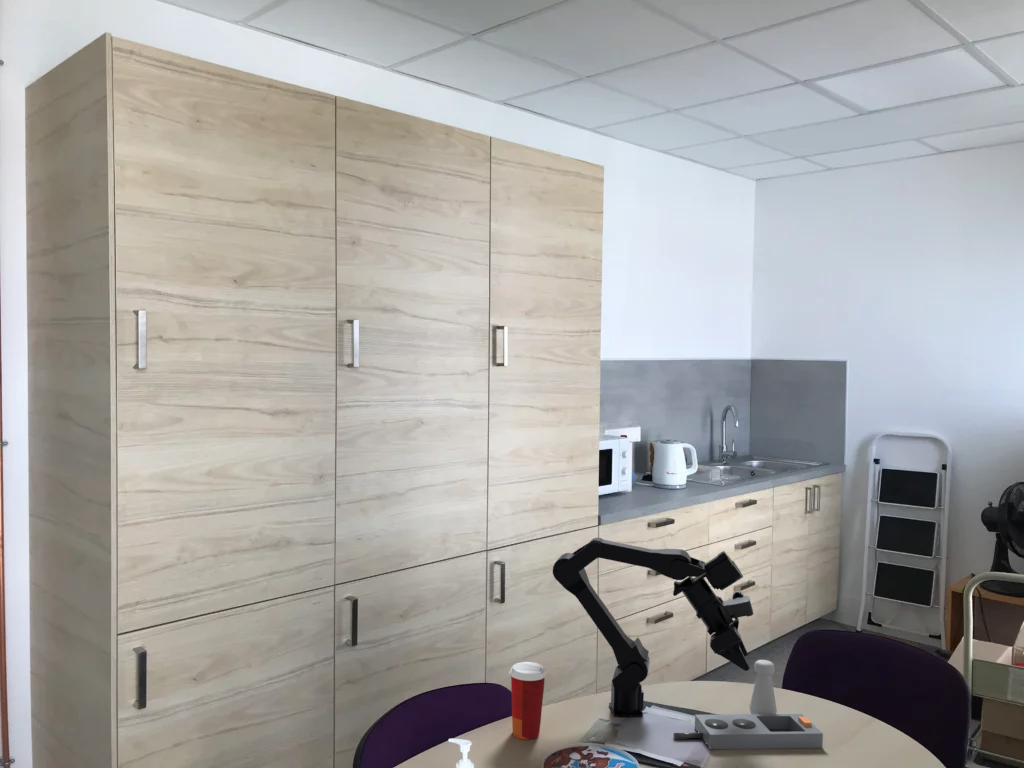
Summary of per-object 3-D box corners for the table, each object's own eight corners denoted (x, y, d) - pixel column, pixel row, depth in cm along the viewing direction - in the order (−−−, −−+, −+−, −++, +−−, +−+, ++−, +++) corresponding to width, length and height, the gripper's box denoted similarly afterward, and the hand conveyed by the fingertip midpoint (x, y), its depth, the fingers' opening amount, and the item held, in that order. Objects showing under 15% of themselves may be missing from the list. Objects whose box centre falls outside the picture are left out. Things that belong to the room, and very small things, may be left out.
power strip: (681, 749, 162) (681, 730, 162) (667, 728, 172) (668, 711, 172) (822, 747, 165) (823, 729, 165) (801, 727, 174) (801, 710, 174)
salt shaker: (777, 726, 175) (779, 667, 174) (750, 723, 176) (752, 664, 176) (774, 715, 180) (776, 658, 180) (748, 712, 181) (750, 655, 181)
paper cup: (548, 729, 169) (550, 664, 169) (538, 745, 162) (540, 676, 162) (513, 723, 172) (516, 658, 172) (501, 738, 165) (504, 670, 164)
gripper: (736, 592, 166) (782, 657, 163) (734, 572, 184) (775, 630, 181) (691, 620, 168) (736, 685, 165) (693, 598, 186) (733, 655, 184)
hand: (746, 662), depth 174 cm, fingers open, 9 cm apart
